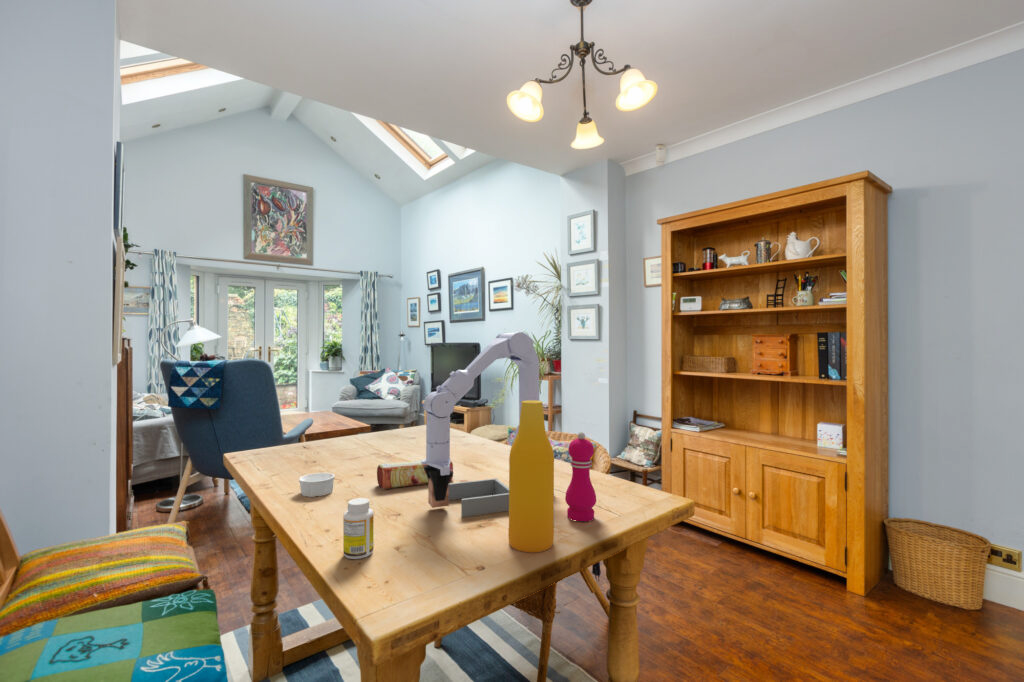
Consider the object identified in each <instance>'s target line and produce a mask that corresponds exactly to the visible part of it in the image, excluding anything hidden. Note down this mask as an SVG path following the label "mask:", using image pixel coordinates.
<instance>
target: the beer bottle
mask: <svg viewBox="0 0 1024 682" xmlns="http://www.w3.org/2000/svg"><path fill="white" fill-rule="evenodd" d="M544 415H545V414H544V405H543V401H541V400H539V401H535V400H527V401H522V405H521V413H520V422H519V421H518V426H519V430H518V433H517V436H516V438H515V440H514V442H513V441H512V442H513V444H512V443H511V448H510V450H509V457H508V466H509V469H508V472H509V473H508V476H509V477H508V479H509V481H508V488H509V511H508V530H507V532H508V541H509V542H508V543H509V545H510V546H511V547H512V548H513V549H515V550H517V551H519V552H524V553H542V552H545V551H548V550H549V549H550V548H552V545H553V544H554V541H555V540H554V539H555V537H554V536H555V534H554V533H555V530H554V525H555V524H554V523H555V522H554V515H555V514H554V512H555V510H554V504H555V503H554V502H555V500H554V499H555V498H554V497H555V493H554V492H555V490H554V489H555V453H554V449H553V447H552V443H551V442H550V439H549V437H548V434H547V432H546V427H545V426H546V425H545V417H544Z"/></svg>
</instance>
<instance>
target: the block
mask: <svg viewBox="0 0 1024 682" xmlns="http://www.w3.org/2000/svg"><path fill="white" fill-rule="evenodd" d="M449 484H450V483H449ZM449 484H448V488H447V492H446V496H445V500H441V501H436V500H435V496H434V488H433V483H432V480H431V478H429V483H428V492H427V493H428V497H427V498H428V499H427V500H428V504H429V506H430V507H431V508H432V509H435V508H441V507H449V502H450V500H449Z"/></svg>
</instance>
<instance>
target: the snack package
mask: <svg viewBox="0 0 1024 682" xmlns="http://www.w3.org/2000/svg"><path fill="white" fill-rule="evenodd" d="M421 460H422V459H421ZM421 460H413V461H412V460H411V461H404V462H402V461H401V462H390V463H379V464H378V465H377V467H376V479H377V480H376V481H377V484H378V487H379V488H380V489H381V490H383V489H385V490H389V489H397V488H402V487H409V486H416V485H417V486H418V485H419V486H420V485H425V484H429V482H428V478H427V474H426V472H425V470H424V468H423V466H425V465H427V464H425V465H423V464H422V463H421ZM449 466H450V471H453V472H454V464H453V461H451V462H450V465H449ZM453 477H454V475H453V476H452V477H451V479H450V481H449V482H451V481H452V480H453V479H454V478H453Z"/></svg>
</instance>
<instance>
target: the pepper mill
mask: <svg viewBox="0 0 1024 682" xmlns="http://www.w3.org/2000/svg"><path fill="white" fill-rule="evenodd" d="M567 452H568V454H569V456H570V457H571V458H570V459H569V461H570V464H569V465H570V466H571V468H572V469H571V470H572V476H571V480H570V482H569V484H568V487H567V489H566V491H565V496H564V497H565V498H564V499H565V503H566V505H568V508H567V511H566V513H567V515H566V517H567V518H568V519H569V518H570V519H572V520H571V521H573V520H576V521H575V522H577V521H588V522H591V521H593V520H594V519H595V509H593V508H594V506H595V505H596V503H597V494H596V491H595V488H594V486H593V484H592V481H591V477H590V475H591V474H590V470H591V468H592V465H593V464H592V462H593V461H592V459H591V458H592V457H593V456H594V453H595V448H594V445H593V443H592V442H591V441H590V440H589V439H587V438H586V434H585V432H583V431H580V432H578V434H577V438H575V439H572V440H571V441H570V443H569V445H568V451H567ZM570 519H569V520H570ZM592 519H593V520H592ZM590 520H591V521H590Z"/></svg>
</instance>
